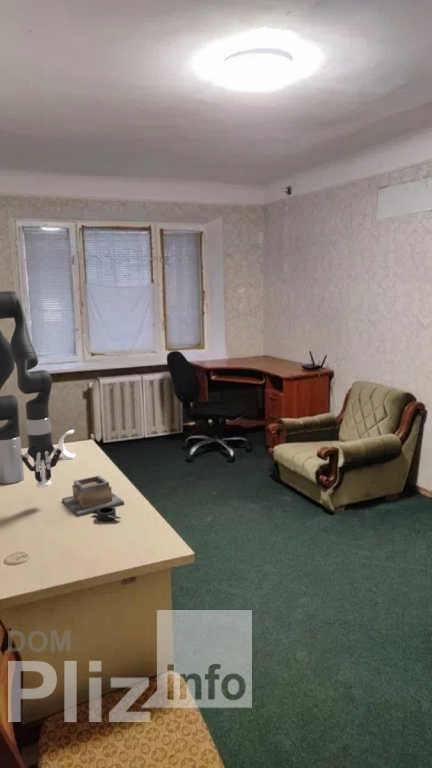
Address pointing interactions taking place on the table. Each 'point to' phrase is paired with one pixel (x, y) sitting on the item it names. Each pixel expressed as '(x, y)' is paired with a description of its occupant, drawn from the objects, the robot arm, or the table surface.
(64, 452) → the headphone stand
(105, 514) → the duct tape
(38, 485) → the chess piece
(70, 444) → the table surface
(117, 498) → the pedestal
